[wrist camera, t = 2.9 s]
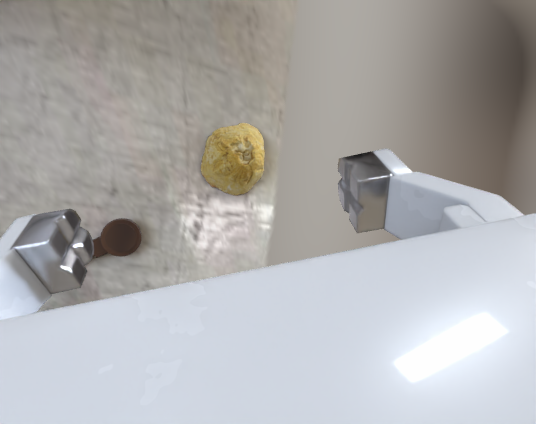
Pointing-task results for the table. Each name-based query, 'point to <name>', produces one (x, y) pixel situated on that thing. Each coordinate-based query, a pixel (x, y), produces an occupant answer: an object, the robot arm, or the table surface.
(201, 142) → the table surface
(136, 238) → the spoon
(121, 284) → the table surface
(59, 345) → the robot arm
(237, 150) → the fossil
